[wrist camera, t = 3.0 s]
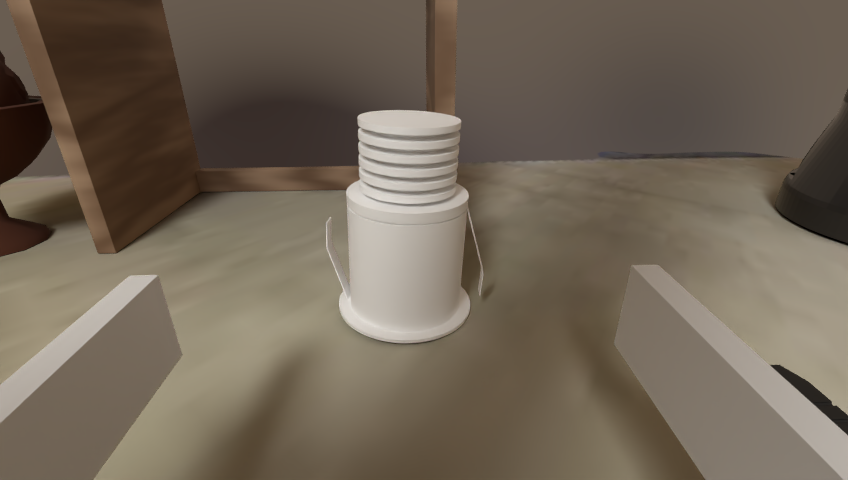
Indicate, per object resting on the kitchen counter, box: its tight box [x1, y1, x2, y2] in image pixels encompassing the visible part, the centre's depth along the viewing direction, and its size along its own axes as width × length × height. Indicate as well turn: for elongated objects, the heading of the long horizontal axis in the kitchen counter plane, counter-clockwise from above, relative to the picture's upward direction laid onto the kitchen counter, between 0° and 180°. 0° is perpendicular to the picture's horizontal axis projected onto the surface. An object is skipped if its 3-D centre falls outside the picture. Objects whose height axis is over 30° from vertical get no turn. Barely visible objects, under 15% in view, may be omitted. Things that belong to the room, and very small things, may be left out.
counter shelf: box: [6, 0, 457, 253], centre depth 31 cm, size 24×14×22 cm, turn 92°
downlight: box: [326, 110, 484, 343], centre depth 21 cm, size 8×7×10 cm
